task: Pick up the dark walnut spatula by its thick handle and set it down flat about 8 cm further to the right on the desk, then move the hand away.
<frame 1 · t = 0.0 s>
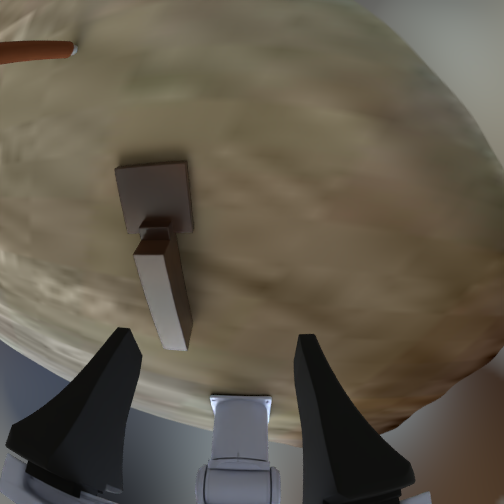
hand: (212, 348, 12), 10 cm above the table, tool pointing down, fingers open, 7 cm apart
spatula: (172, 282, 23), on the table
magnifying glass: (76, 49, 12), on the table
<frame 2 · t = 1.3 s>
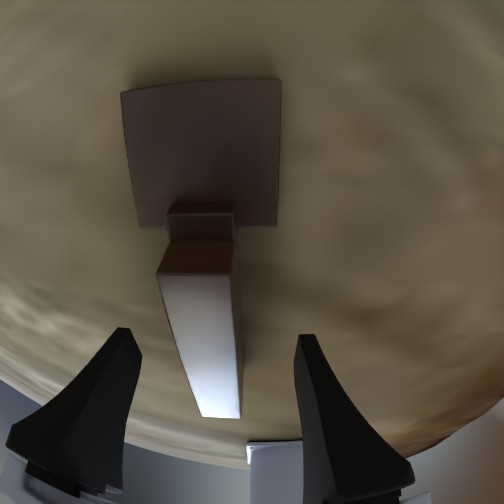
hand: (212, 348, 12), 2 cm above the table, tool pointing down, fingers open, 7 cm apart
spatula: (217, 315, 13), on the table
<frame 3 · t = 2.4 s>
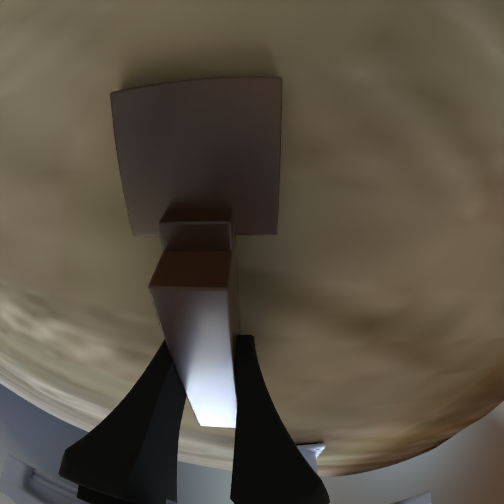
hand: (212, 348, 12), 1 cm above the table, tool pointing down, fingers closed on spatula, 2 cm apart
spatula: (215, 323, 13), on the table, touching gripper
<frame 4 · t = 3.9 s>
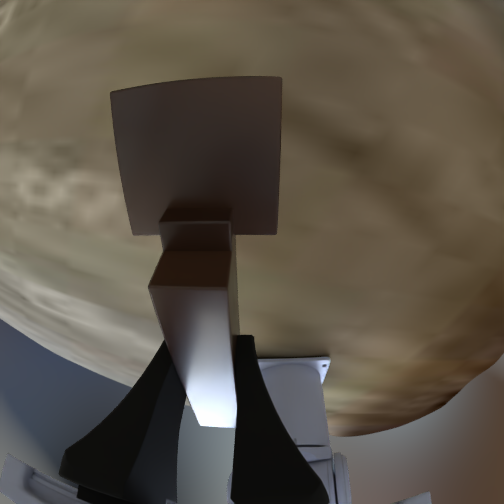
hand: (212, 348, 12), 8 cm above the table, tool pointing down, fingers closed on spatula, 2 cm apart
spatula: (215, 323, 13), point 7 cm above the table, touching gripper
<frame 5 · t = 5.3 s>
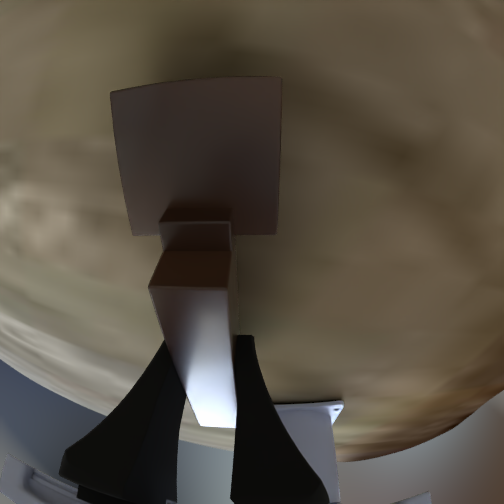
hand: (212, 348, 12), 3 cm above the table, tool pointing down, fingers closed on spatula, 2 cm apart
spatula: (215, 323, 13), point 1 cm above the table, touching gripper
when the fingers open (1 cm above the table, at t = 5.9 s): spatula stays where it is, on the table.
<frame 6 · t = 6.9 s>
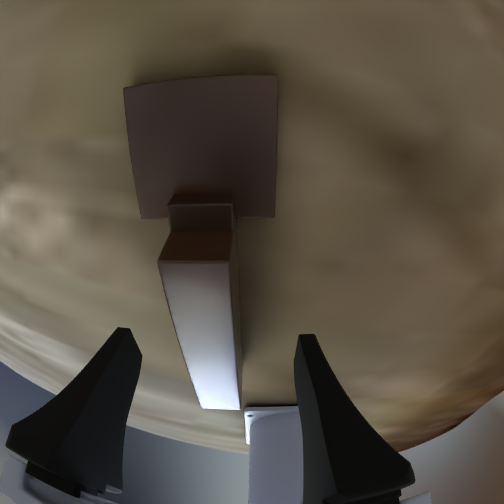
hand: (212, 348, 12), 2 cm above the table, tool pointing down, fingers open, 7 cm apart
spatula: (217, 306, 14), on the table
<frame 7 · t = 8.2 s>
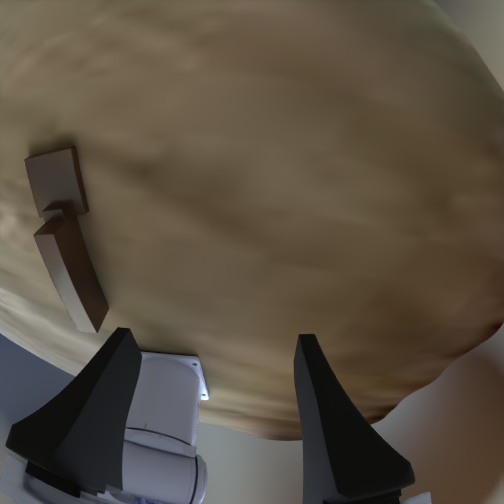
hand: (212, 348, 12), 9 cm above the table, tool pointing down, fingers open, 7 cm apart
spatula: (82, 265, 21), on the table
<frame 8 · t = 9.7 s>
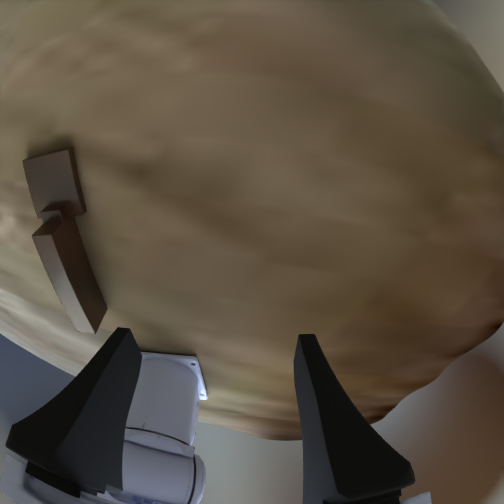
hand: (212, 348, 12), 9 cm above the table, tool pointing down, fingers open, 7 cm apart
spatula: (80, 265, 21), on the table
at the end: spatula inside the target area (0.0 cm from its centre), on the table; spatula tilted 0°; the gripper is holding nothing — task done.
